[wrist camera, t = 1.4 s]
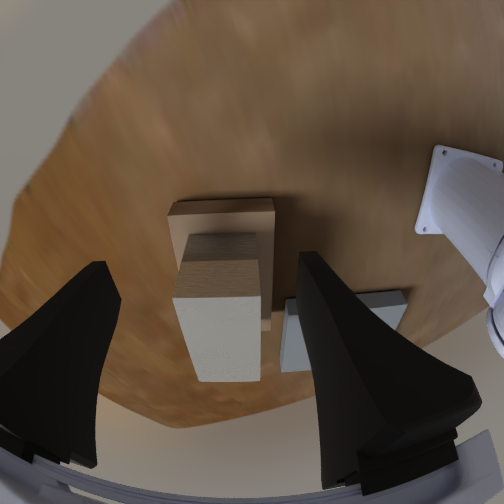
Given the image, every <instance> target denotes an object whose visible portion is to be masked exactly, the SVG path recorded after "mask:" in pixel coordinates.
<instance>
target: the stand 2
mask: <svg viewBox="0 0 504 504" xmlns="http://www.w3.org/2000/svg"><path fill="white" fill-rule="evenodd" d="M355 295H356V296H357V297H358V298H359V299H360V300H361V301H362V302H363V303H364V304H365V305H366V306H367V307H368V308H369V309H370V310H371V311H372V312H374V313H375V314H376V315H377V316H378V317H379V318H381V319H382V320H383V321H384V322H385V323H387V324H388V325H389V326H390V327H391V328H393V329H394V330H395V329H396V327H397V325H398V324H399V322H400V320H401V318H402V316H403V313H404V311H405V309H406V307H407V305H408V303H407V301H406V299H405V298H404V296H403V294H402V292H401V290H398V291H388V292H378V293H366V294H355ZM280 364H281V372H292V371H304V370H312V369H311V365H310V361H309V357H308V353H307V349H306V346H305V342H304V338H303V334H302V330H301V326H300V322H299V317H298V310H297V303H296V299H286V302H285V313H284V323H283V333H282V343H281V352H280Z"/></svg>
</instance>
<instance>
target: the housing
mask: <svg viewBox="0 0 504 504" xmlns="http://www.w3.org/2000/svg"><path fill="white" fill-rule="evenodd" d="M172 299H173V303H174V306H175V309H176V313H177V316H178V319H179V323H180V326H181V329H182V332H183V335H184V338H185V341H186V344H187V347H188V350H189V353H190V356H191V359H192V362H193V365H194V368H195V371H196V373H197V376H198V379H199V381H200V382H244V381H260V340H261V292H260V280H259V267H258V255H257V242H256V232H237V233H210V234H189V235H188V239H187V242H186V246H185V250H184V253H183V257H182V261H181V265H180V269H179V273H178V276H177V280H176V284H175V289H174V293H173V297H172Z"/></svg>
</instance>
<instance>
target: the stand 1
mask: <svg viewBox="0 0 504 504" xmlns="http://www.w3.org/2000/svg"><path fill="white" fill-rule="evenodd" d="M167 217H168V222H169V227H170V233H171V238H172V242H173V247H174V252H175V257H176V261H177V266H178V270H179V269H180V265H181V261H182V257H183V253H184V250H185V246H186V242H187V239H188V235H189V234H210V233H237V232H256V242H257V255H258V267H259V280H260V292H261V331H270V330H271V309H272V286H273V260H274V229H275V209H274V205H273V200H272V198H257V199H227V200H206V201H188V202H173V205H172V207H171V209H170V211H169V213H168V215H167Z"/></svg>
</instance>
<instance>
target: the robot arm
mask: <svg viewBox="0 0 504 504" xmlns="http://www.w3.org/2000/svg"><path fill="white" fill-rule="evenodd" d="M443 151H444V154H443ZM502 169H503V162H502V161H500V160H498V159H494V158H491V157H487V156H484V155H480V154H476V153H473V152H469V151H465V150H460V149H456V148H452V147H447V146H443V145H436V146H435V147H434V150H433V155H432V160H431V165H430V170H429V174H428V179H427V183H426V188H425V192H424V196H423V200H422V204H421V207H420V211H419V215H418V218H417V222H416V225H415V231H416V232H417V233H418V234H445V236H446V237H447V238H448V239H449V240H450V241H451V242H452V243H453V245H454V246H455V247H456V248H457V249H458V250H459V252H460V253H461V254H462V255H463V256H464V258H465V259H466V260H467V261H468V262H469V264H470V265H471V266H472V267H473V269H474V270H475V271H476V273H477V274H478V275H479V276H480V278H481V279H482V280H483V282H484V283H485V284H486V286H487V289H486V291H485V293H484V295H483V296H484V298H485V299H486V301H487V302H488V304H489V305H490V307H489V310H488V312H487V317H486V318H487V319H486V322H487V328H488V331H489V334H490V337H491V340H492V342H493V344H494V346H495V348H496V350H497V351H498V352H499V354H500V355H501V356H502V357H503V358H504V174H503V173H502ZM424 228H425V229H424ZM295 295H296V303H297V310H298V317H299V322H300V326H301V330H302V334H303V338H304V342H305V346H306V349H307V353H308V357H309V361H310V365H311V369H312V374H313V379H314V386H315V394H316V402H317V412H318V422H319V435H320V449H321V450H320V451H321V481H322V489H323V490H325V489H330V488H335V487H340V486H345V487H342V488H337V489H332V490H327V491H320V492H314V493H307V494H300V495H291V496H280V497H266V498H210V497H195V496H185V495H177V494H168V493H162V492H155V491H150V490H144V489H140V488H135V487H130V486H126V485H122V484H117V483H114V482H110V481H106V480H103V479H99V478H96V477H93V476H90V475H86V474H83V473H80V472H77V471H75V470H72V469H69V468H66V467H64V466H61V465H60V461H61V462H63V463H67V464H69V463H70V462H72V463H75V464H78V465H81V466H84V467H87V468H90V469H92V468H94V467H95V466H97V458H96V457H97V456H96V442H95V419H96V405H97V396H98V388H99V382H100V376H101V372H102V368H103V365H104V361H105V358H106V355H107V352H108V349H109V345H110V342H111V339H112V336H113V333H114V330H115V327H116V324H117V320H118V315H119V310H120V305H121V300H122V299H121V297H120V295H119V293H118V290H117V288H116V286H115V283H114V281H113V279H112V276H111V274H110V271H109V269H108V266H107V264H106V261H93V262H91V263H90V264H88V265H87V266H86V267H85V268H83V269H82V270H81V271H80V272H79V273H78V274H76V275H75V276H74V277H73V278H72V279H71V280H70V281H69V282H68V283H67V284H65V285H64V286H63V287H62V288H61V289H60V290H59V291H58V292H57V293H56V294H55V295H54V296H53V297H51V298H50V299H49V300H48V301H47V302H46V303H45V304H44V305H43V306H41V307H40V308H39V309H38V310H37V311H36V312H35V313H34V314H33V315H31V316H30V317H29V318H28V319H27V320H25V321H24V322H23V323H22V324H20V325H19V326H18V327H16V328H15V329H14V330H12V331H11V332H10V333H8V334H7V335H5V336H4V337H3V338H1V339H0V504H107V503H105V502H102V501H98V500H95V499H92V498H88V497H86V496H82V495H79V494H76V493H73V492H71V490H70V488H69V486H68V485H70V486H72V487H75V488H77V489H80V490H83V491H85V492H88V493H91V494H94V495H97V496H101V497H104V498H107V499H111V500H114V501H118V502H122V503H125V504H484V503H486V502H487V501H488V500H490V499H491V498H492V497H494V496H495V495H496V494H498V493H499V492H500V491H501V490H503V488H504V485H503V479H502V475H501V471H500V467H499V463H498V459H497V455H496V452H495V448H494V445H493V442H492V438H491V435H490V432H489V430H487V429H486V430H484V431H483V432H481V433H479V434H478V435H476V436H474V437H472V438H470V439H468V440H466V441H465V442H463V443H461V444H459V445H457V446H456V447H455V444H454V439H456V438H457V437H458V435H457V431H456V427H457V426H458V425H460V424H461V423H463V422H464V421H465V420H466V419H468V418H469V417H470V416H472V415H473V414H474V413H475V412H476V411H477V410H478V409H479V408H480V406H481V404H482V400H481V397H480V395H479V392H478V390H477V388H476V386H475V383H474V381H473V379H472V377H471V376H470V375H468V374H465V373H463V372H461V371H459V370H457V369H455V368H453V367H451V366H449V365H447V364H445V363H444V362H442V361H440V360H438V359H437V358H435V357H433V356H432V355H430V354H428V353H426V352H425V351H423V350H422V349H421V348H419V347H417V346H416V345H414V344H413V343H412V342H410V341H409V340H407V339H406V338H405V337H403V336H402V335H400V334H399V333H398V332H396V331H395V330H394V329H393V328H391V327H390V326H389V325H388V324H387V323H385V322H384V321H383V320H382V319H381V318H379V317H378V316H377V315H376V314H375V313H374V312H372V311H371V310H370V309H369V308H368V307H367V306H366V305H365V304H364V303H363V302H362V301H361V300H360V299H359V298H358V297H357V296H356V295H355V294H354V293H353V292H352V291H351V290H350V289H349V288H348V286H347V285H346V284H345V283H344V282H343V281H342V280H341V279H340V278H339V277H338V276H337V274H336V273H335V272H334V271H333V270H332V269H331V267H330V266H329V265H328V264H327V263H326V262H325V260H324V259H323V258H322V257H321V256H320V255H319V254H318V253H317V252H316V251H310V252H299V260H298V272H297V283H296V294H295Z"/></svg>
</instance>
